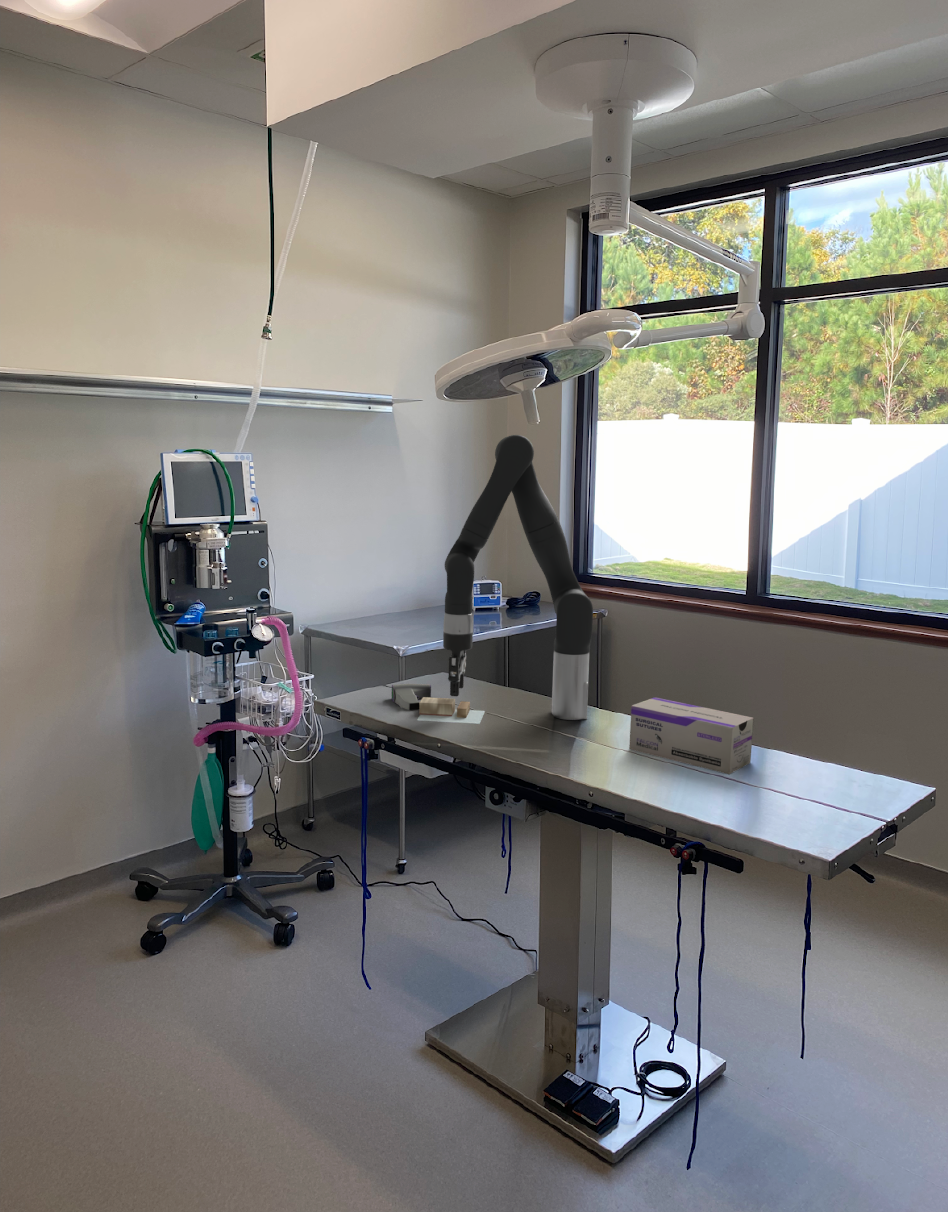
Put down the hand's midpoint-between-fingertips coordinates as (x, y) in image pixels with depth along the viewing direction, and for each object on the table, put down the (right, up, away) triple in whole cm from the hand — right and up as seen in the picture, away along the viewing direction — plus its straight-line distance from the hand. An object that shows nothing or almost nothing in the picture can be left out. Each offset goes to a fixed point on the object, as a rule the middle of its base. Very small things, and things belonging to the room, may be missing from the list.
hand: (456, 691), depth 240 cm
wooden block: (-1, -4, +1) cm, 4 cm away
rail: (+2, -6, +1) cm, 7 cm away
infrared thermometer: (-11, -5, +12) cm, 17 cm away
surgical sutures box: (+54, -13, -27) cm, 61 cm away
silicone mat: (-1, -7, -1) cm, 7 cm away
